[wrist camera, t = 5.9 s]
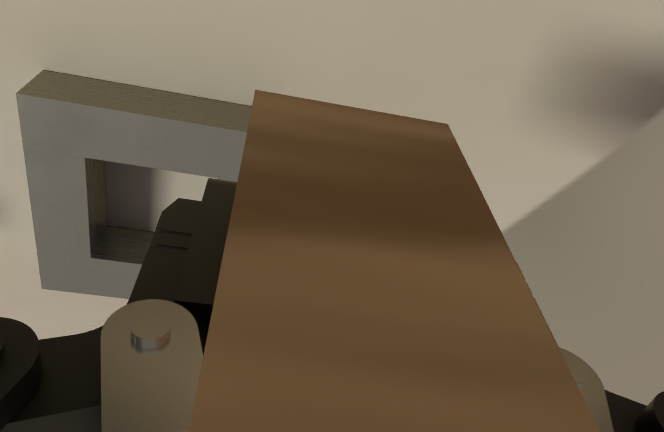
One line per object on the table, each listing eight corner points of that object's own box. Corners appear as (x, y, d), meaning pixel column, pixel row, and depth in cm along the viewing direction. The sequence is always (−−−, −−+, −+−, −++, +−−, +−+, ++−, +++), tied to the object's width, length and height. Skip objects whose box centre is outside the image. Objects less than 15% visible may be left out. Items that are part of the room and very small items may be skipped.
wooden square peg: (255, 89, 12) (138, 693, 3) (447, 124, 12) (731, 698, 4) (234, 246, 14) (137, 814, 6) (395, 268, 15) (508, 805, 7)
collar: (42, 70, 26) (16, 93, 24) (283, 112, 28) (281, 138, 26) (61, 255, 33) (41, 288, 31) (255, 280, 35) (251, 313, 32)
